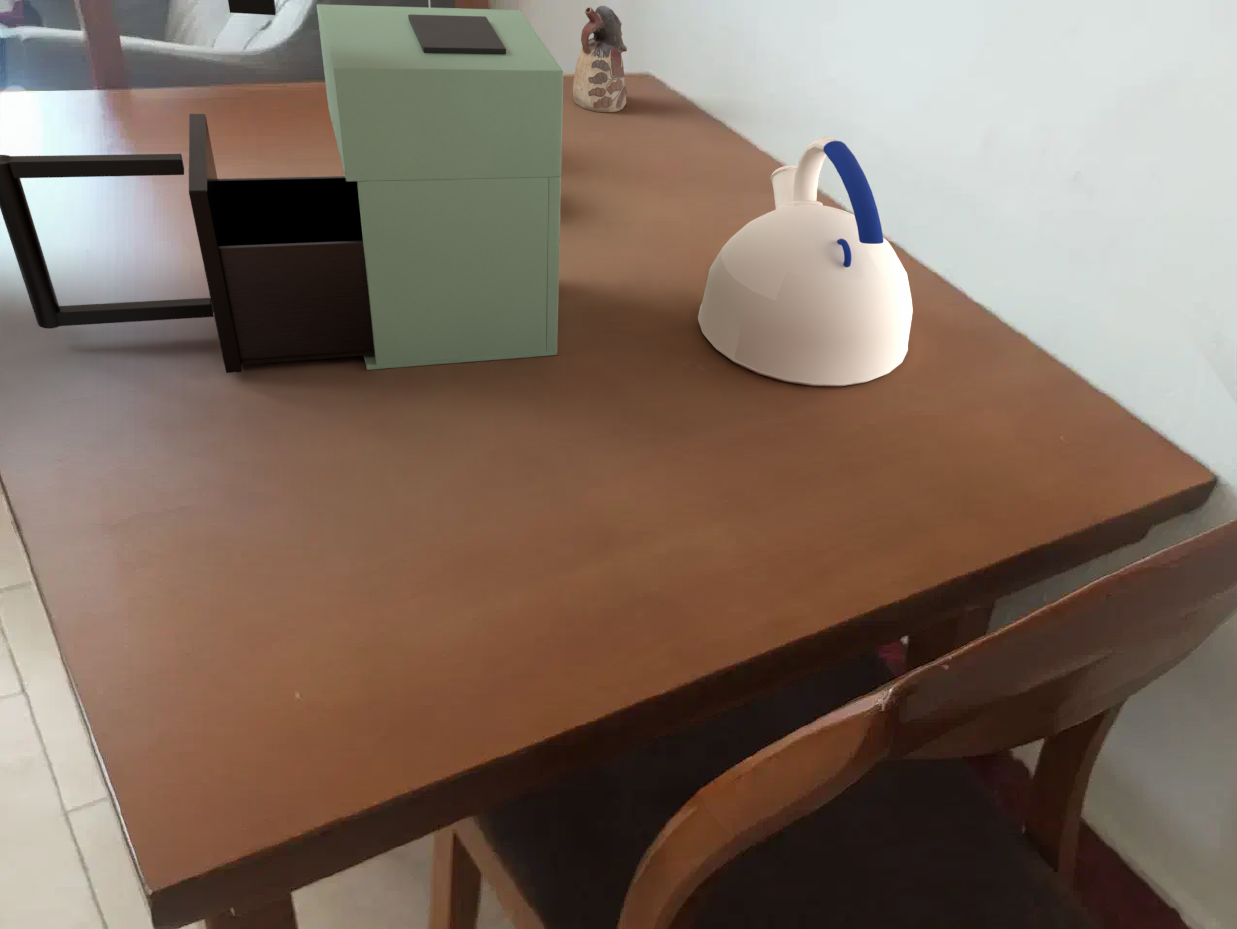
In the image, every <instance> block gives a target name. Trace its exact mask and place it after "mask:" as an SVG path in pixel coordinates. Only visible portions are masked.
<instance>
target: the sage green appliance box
mask: <svg viewBox="0 0 1237 929" xmlns="http://www.w3.org/2000/svg"><path fill="white" fill-rule="evenodd" d="M316 11H317V20H318V29H319V37H320V38H319V39H320V47H321V55H322V64H323V73H324V81H325V83H324V84H325V91H326V99H327V100H326V101H327V107H328V112H329V116H330V120H331V125H332V129H333V133H334V137H335V141H336V146H337V150H338V153H339V157H340V161H341V166H342V171H343V174H344V176H345V179H346V181H357V186H358V196H359V206H360V215H361V225H362V235H363V245H364V255H365V264H366V274H367V284H368V294H369V303H370V313H371V323H372V333H373V343H374V352H375V355H365V356H363V359H364V364H365V368H366V371H369V370H382V369H394V368H395V369H397V368H408V367H421V366H435V365H446V364H447V365H448V364H459V363H472V362H473V363H474V362H485V361H499V360H509V359H524V358H535V357H548V356H549V357H550V356H557V355H558V329H559V328H558V327H559V326H558V324H559V289H560V288H559V287H560V286H559V285H560V282H559V281H560V244H561V243H560V241H561V240H560V238H561V237H560V235H561V229H560V228H561V197H562V196H561V194H562V193H561V192H562V190H561V189H562V152H563V151H562V149H563V148H562V147H563V146H562V145H563V139H562V138H563V102H564V101H563V100H564V98H563V96H564V70H563V68H562V67H561V66H560V64H559V63H558V62H557V60H556V58H555V57H554V56H553V54H552V53H551V51H550V50H549V48H548V47H547V46H546V44H545V43H544V42H543V39H541V37H540V36H539V34H538V33H537V31H536V30H535V29H534V27H533V26H532V25H531V23H530V22H529V20H528V19H527V17H526V16H525V15H524V13H523V12H522V10H520V9H494V8H493V9H490V8H462V7H461V8H455V7H431V8H429V7H426V6H423V7H422V6H421V7H420V6H390V5H388V6H387V5H384V6H383V5H358V4H357V5H356V4H355V5H354V4H353V5H352V4H325V3H323V4H322V3H321V4H320V3H317V4H316Z"/></svg>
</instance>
